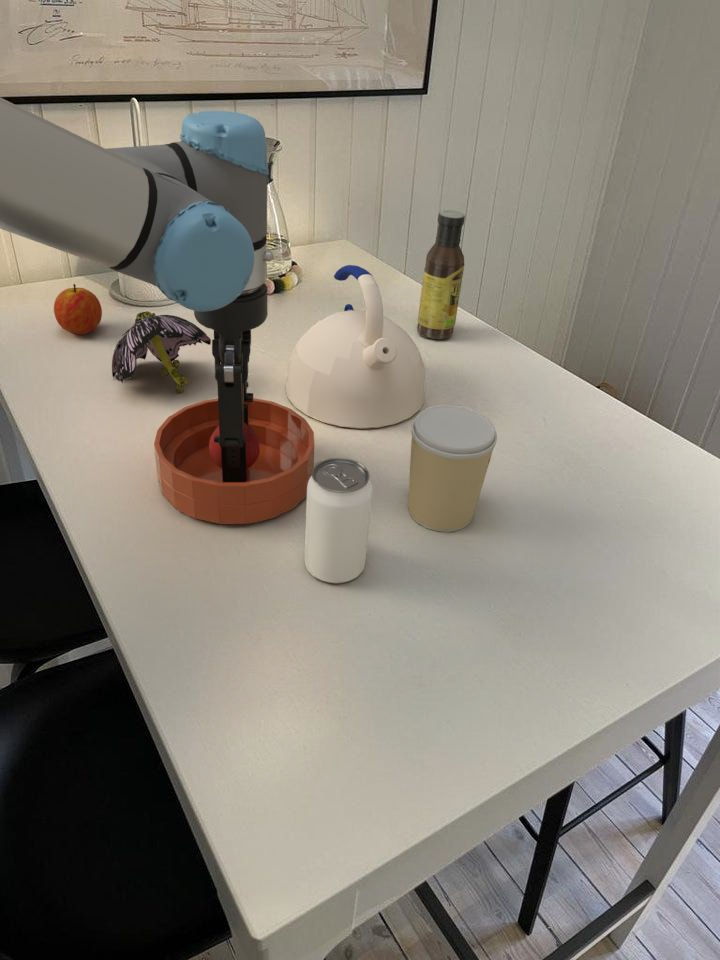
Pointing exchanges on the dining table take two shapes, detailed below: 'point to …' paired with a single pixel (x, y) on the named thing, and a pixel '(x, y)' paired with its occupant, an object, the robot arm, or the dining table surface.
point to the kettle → (357, 365)
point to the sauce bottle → (442, 279)
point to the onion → (251, 447)
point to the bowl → (269, 480)
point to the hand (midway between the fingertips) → (236, 466)
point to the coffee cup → (448, 465)
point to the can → (337, 520)
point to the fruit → (77, 310)
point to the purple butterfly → (155, 344)
